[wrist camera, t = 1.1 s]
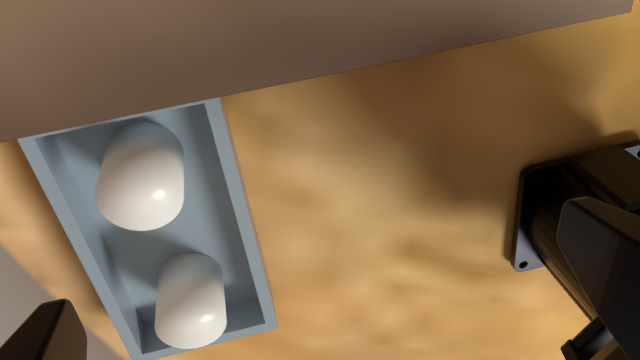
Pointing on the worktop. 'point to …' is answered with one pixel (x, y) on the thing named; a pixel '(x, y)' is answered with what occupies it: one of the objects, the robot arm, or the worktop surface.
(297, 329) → the worktop surface
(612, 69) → the worktop surface
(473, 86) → the worktop surface
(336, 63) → the low shelf
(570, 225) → the robot arm
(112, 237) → the tray
